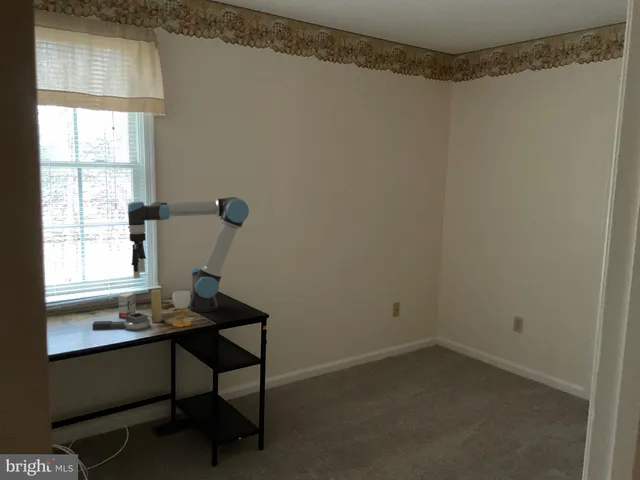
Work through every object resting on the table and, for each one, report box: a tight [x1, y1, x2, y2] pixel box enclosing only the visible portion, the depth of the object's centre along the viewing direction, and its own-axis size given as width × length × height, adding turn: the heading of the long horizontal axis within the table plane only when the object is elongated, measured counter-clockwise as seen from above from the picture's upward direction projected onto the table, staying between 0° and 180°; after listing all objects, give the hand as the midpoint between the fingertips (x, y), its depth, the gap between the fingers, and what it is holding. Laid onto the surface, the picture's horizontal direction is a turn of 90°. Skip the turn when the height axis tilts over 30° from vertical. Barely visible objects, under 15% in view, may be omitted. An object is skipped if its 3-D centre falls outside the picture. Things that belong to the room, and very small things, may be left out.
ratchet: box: [91, 311, 151, 332], centre depth 260 cm, size 26×12×6 cm, turn 99°
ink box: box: [117, 291, 137, 319], centre depth 278 cm, size 9×5×12 cm, turn 168°
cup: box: [171, 290, 192, 328], centre depth 266 cm, size 9×9×16 cm
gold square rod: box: [150, 288, 162, 323], centre depth 270 cm, size 4×4×16 cm
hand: (139, 274), depth 269 cm, fingers open, 13 cm apart
